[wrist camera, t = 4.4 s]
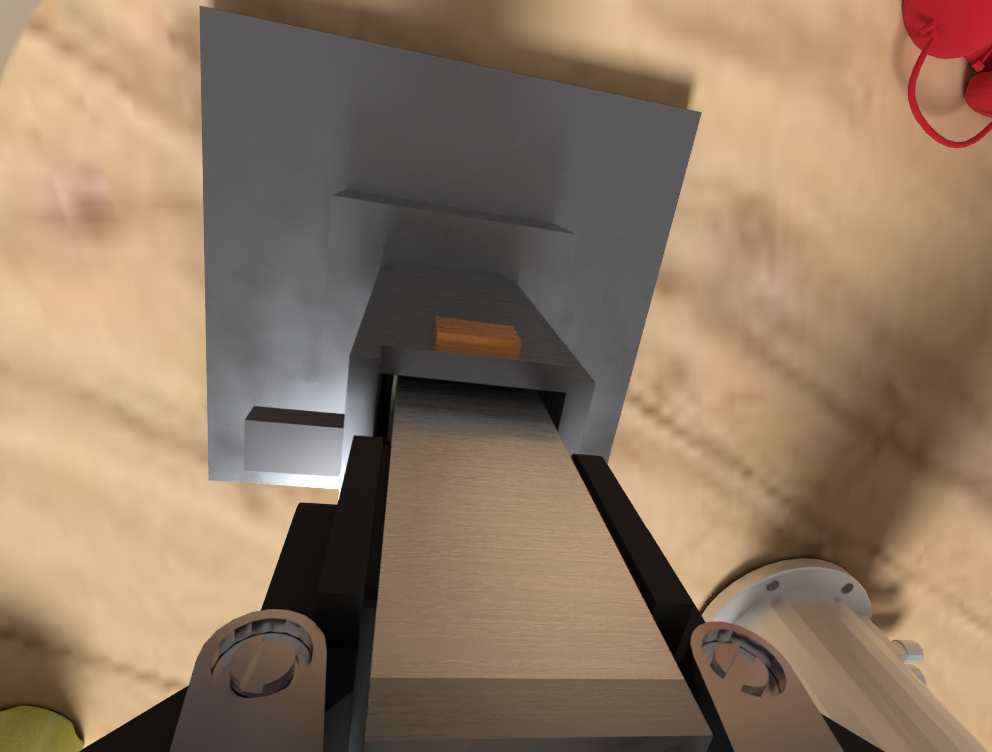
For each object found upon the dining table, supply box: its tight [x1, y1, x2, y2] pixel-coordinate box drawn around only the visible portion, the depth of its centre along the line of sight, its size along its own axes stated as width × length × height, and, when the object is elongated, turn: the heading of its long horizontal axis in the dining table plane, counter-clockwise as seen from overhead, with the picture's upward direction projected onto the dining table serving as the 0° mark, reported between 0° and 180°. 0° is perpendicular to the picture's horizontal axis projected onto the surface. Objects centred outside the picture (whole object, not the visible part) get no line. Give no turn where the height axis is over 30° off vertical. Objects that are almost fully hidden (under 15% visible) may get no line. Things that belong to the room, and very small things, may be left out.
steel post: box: [360, 375, 713, 752], centre depth 13 cm, size 3×3×17 cm
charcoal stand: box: [200, 6, 702, 500], centre depth 19 cm, size 20×20×16 cm
